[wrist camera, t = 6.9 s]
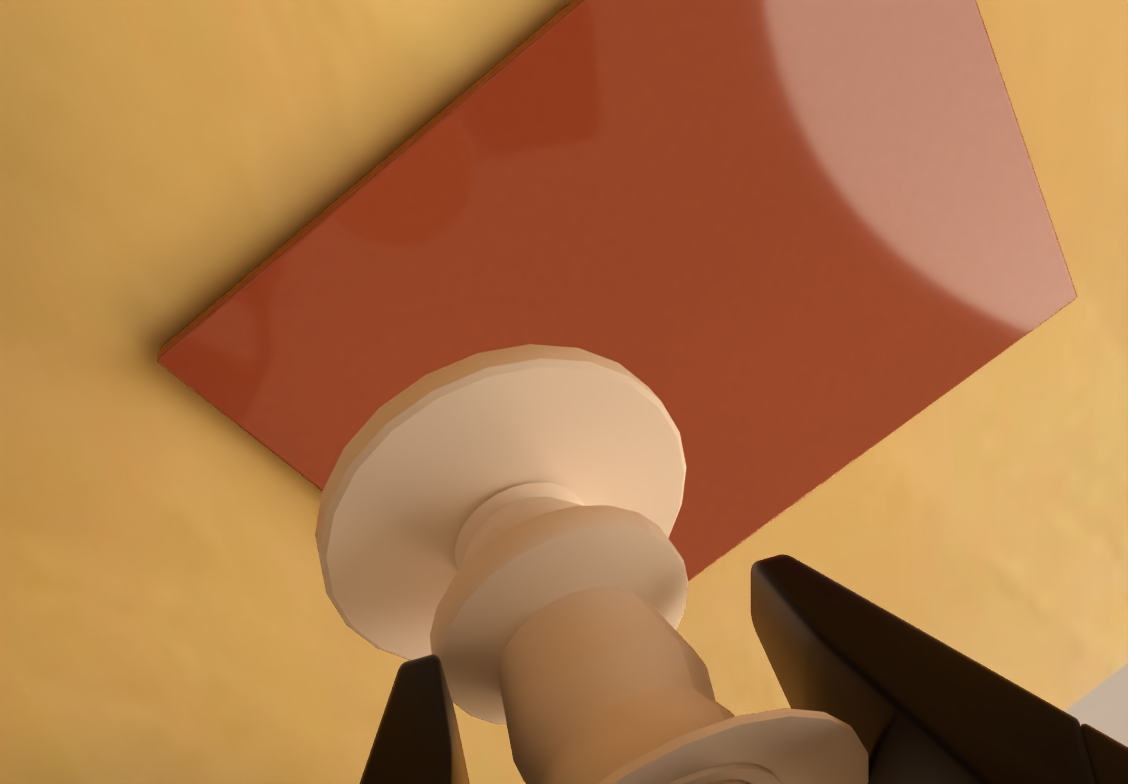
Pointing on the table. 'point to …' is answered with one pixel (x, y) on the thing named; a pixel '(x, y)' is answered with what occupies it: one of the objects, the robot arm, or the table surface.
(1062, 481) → the table surface
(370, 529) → the candle
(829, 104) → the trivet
